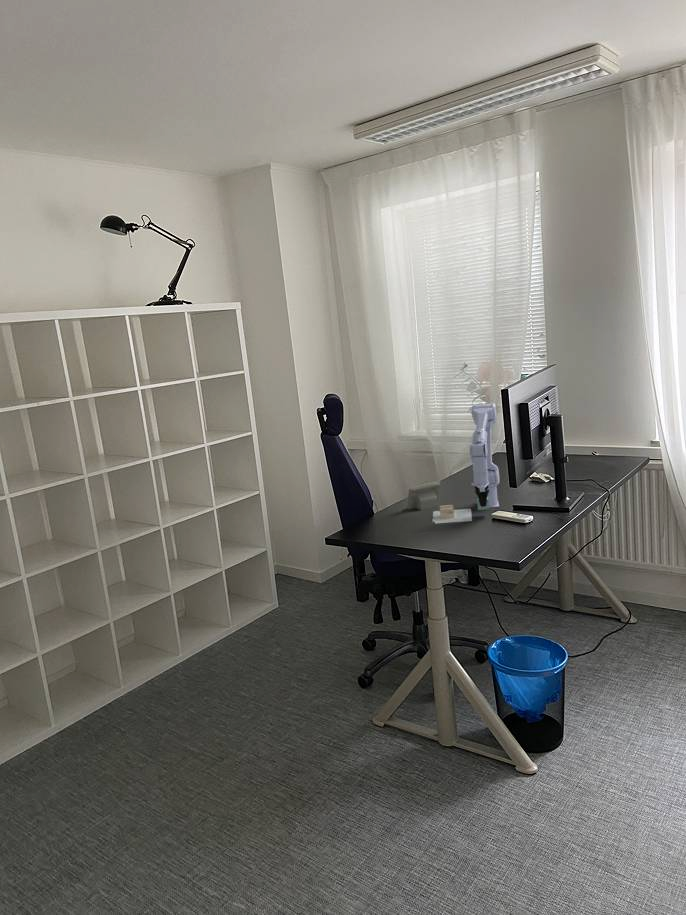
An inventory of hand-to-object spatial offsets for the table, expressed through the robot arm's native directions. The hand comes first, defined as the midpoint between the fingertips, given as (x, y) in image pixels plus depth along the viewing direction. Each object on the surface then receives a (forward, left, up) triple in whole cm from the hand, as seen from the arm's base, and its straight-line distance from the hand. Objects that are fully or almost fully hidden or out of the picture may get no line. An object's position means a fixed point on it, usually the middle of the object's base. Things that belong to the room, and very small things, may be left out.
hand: (483, 504), depth 291 cm
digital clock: (-21, -25, -6) cm, 33 cm away
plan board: (-3, -13, -5) cm, 14 cm away
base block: (-3, -15, -5) cm, 16 cm away
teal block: (0, 0, -2) cm, 2 cm away
